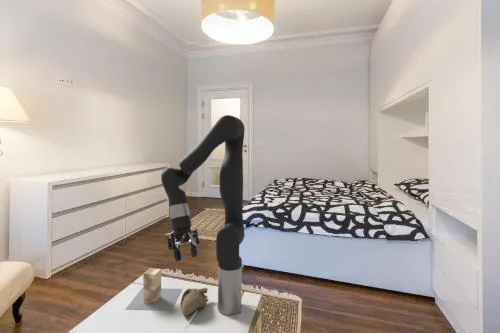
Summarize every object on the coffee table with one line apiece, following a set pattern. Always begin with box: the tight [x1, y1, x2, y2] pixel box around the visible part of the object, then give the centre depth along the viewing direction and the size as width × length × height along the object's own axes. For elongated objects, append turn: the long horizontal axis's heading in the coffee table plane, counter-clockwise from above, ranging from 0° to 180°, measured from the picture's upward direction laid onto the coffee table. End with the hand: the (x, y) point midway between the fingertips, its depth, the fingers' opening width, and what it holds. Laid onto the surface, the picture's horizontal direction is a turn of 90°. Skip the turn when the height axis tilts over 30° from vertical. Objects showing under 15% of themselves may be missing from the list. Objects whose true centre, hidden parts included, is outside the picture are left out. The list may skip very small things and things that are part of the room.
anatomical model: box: [179, 287, 209, 317], centre depth 103 cm, size 7×11×15 cm
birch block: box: [142, 267, 162, 304], centre depth 108 cm, size 5×5×12 cm
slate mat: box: [124, 287, 183, 312], centre depth 109 cm, size 18×16×1 cm
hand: (186, 258), depth 101 cm, fingers open, 8 cm apart
